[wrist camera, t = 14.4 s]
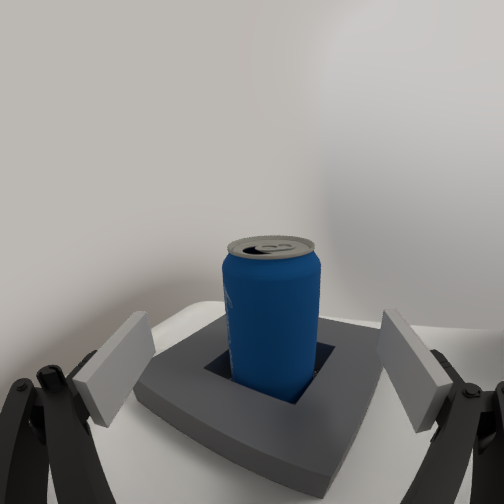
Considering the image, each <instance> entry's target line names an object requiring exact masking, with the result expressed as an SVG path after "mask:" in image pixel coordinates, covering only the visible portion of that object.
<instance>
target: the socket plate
mask: <svg viewBox="0 0 504 504" xmlns="http://www.w3.org/2000/svg"><path fill="white" fill-rule="evenodd" d="M379 335H380V329H376V328H370V327H365V326H359V325H354V324H349V323H344V322H339V321H334V320H329V319H324V318H319V317H318V330H317V343H316V355H315V365H314V369H316V370H319V373H318V374H317V376H316V377H315V378H314V380H313V381H312V383H311V384H310V385H309V387H308V388H307V390H306V391H305V392H304V394H303V395H302V397H301V398H300V399H299V401H298V402H297V403H296V405H293V404H290V403H287V402H284V401H282V400H279V399H276V398H273V397H271V396H268V395H265V394H263V393H260V392H257V391H255V390H252V389H250V388H247V387H245V386H242V385H240V384H238V383H235V382H233V381H230V380H228V379H229V378H230V377H231V376H232V374H231V364H230V354H229V344H228V333H227V322H226V314H225V315H223V316H222V317H220V318H218V319H217V320H215V321H214V322H212V323H210V324H209V325H207V326H205V327H204V328H202V329H200V330H199V331H197V332H195V333H194V334H192V335H191V336H189V337H187V338H186V339H184V340H182V341H181V342H179V343H177V344H175V345H174V346H172V347H170V348H169V349H167V350H165V351H164V352H162V353H160V354H158V355H157V356H155V357H153V358H152V359H151V360H150V362H149V363H148V365H147V366H146V368H145V369H144V371H143V373H142V374H141V376H140V377H139V379H138V380H137V382H136V384H135V385H134V387H133V391H134V393H135V396H136V399H137V400H138V401H139V402H140V403H142V404H143V405H144V406H146V407H147V408H148V409H150V410H151V411H152V412H154V413H155V414H156V415H158V416H159V417H161V418H162V419H163V420H165V421H166V422H168V423H169V424H171V425H172V426H174V427H175V428H177V429H178V430H180V431H181V432H183V433H184V434H186V435H187V436H189V437H191V438H192V439H194V440H195V441H197V442H199V443H200V444H202V445H204V446H205V447H207V448H209V449H211V450H212V451H214V452H216V453H218V454H219V455H221V456H223V457H225V458H227V459H229V460H231V461H232V462H234V463H236V464H238V465H240V466H242V467H244V468H246V469H248V470H251V471H253V472H255V473H257V474H259V475H261V476H264V477H266V478H268V479H270V480H273V481H275V482H278V483H280V484H282V485H285V486H287V487H290V488H293V489H295V490H298V491H301V492H304V493H306V494H309V495H312V496H315V497H318V498H321V499H323V498H324V496H325V494H326V493H327V491H328V489H329V488H330V486H331V484H332V482H333V481H334V479H335V477H336V475H337V473H338V472H339V470H340V468H341V466H342V464H343V462H344V460H345V458H346V456H347V454H348V452H349V450H350V448H351V446H352V444H353V442H354V440H355V437H356V435H357V433H358V431H359V429H360V426H361V424H362V422H363V419H364V417H365V415H366V412H367V410H368V407H369V405H370V402H371V400H372V397H373V394H374V392H375V389H376V386H377V383H378V381H379V378H380V375H381V372H382V369H383V364H382V362H381V360H380V358H379V356H378V354H377V352H376V350H377V345H378V340H379Z"/></svg>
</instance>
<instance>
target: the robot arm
mask: <svg viewBox="0 0 504 504" xmlns="http://www.w3.org/2000/svg"><path fill="white" fill-rule="evenodd" d="M155 352H156V350H155V346H154V342H153V337H152V333H151V328H150V324H149V319H148V314H147V312H144V311H135V312H134V313H133V314H132V315H131V316H130V317H129V318H128V319H127V320H126V321H125V322H124V323H123V325H122V326H121V327H120V328H119V329H118V330H117V331H116V332H115V333H114V334H113V335H112V336H111V337H110V338H109V339H108V340H107V341H106V342H105V344H104V345H103V346H102V347H101V348H100V349H99V350H94V351H93V352H91V353H89V354H88V355H87V356H86V357H85V358H84V359H83V360H82V362H80V363H79V364H78V366H76V367H75V368H74V369H73V371H72V372H71V373H70V374H69V375H68V376H67V377H66V378H65V377H64V375H63V372H62V370H61V368H60V367H59V366H57V365H48V366H45V367H43V368H42V369H40V370H39V371H38V372H37V375H36V377H37V379H38V381H39V383H40V385H41V387H42V388H37V387H34V385H33V383H32V381H31V380H30V379H27V378H22V379H19V380H17V381H15V382H14V383H13V385H12V386H11V388H10V391H9V393H8V395H7V398H6V401H5V403H4V406H3V408H2V411H1V413H0V504H47V487H48V473H49V462H50V468H51V474H52V479H53V484H54V488H55V493H56V497H57V501H58V504H116V502H115V499H114V497H113V495H112V492H111V490H110V487H109V485H108V482H107V480H106V477H105V474H104V472H103V469H102V466H101V463H100V460H99V457H98V454H97V451H96V448H95V444H94V441H93V438H92V434H91V430H90V427H89V424H88V422H87V421H86V420H87V419H88V418H89V416H91V418H92V420H93V422H94V424H97V425H100V426H103V427H106V428H108V427H109V426H110V424H111V422H112V421H113V419H114V417H115V416H116V414H117V413H118V411H119V409H120V408H121V406H122V404H123V403H124V401H125V400H126V398H127V396H128V395H129V393H130V392H131V390H132V388H133V387H134V385H135V384H136V382H137V380H138V379H139V377H140V376H141V374H142V373H143V371H144V369H145V368H146V366H147V365H148V363H149V362H150V360H151V358H152V357H153V355H154V354H155ZM376 352H377V354H378V356H379V358H380V360H381V362H382V364H383V366H384V368H385V370H386V371H387V373H388V375H389V377H390V379H391V382H392V384H393V386H394V388H395V390H396V392H397V394H398V396H399V398H400V400H401V402H402V404H403V406H404V409H405V411H406V413H407V415H408V417H409V419H410V422H411V424H412V426H413V428H414V430H415V433H419V432H423V431H426V430H430V429H431V428H432V426H433V424H434V422H435V420H436V422H437V424H438V428H437V430H436V432H435V433H434V435H433V437H432V439H431V440H430V442H431V444H430V447H429V449H428V451H427V453H426V456H425V458H424V460H423V462H422V464H421V466H420V468H419V470H418V472H417V474H416V476H415V478H414V480H413V482H412V484H411V486H410V487H409V489H408V491H407V493H406V495H405V496H404V498H403V500H402V501H401V503H400V504H454V502H455V499H456V497H457V494H458V492H459V489H460V486H461V484H462V481H463V478H464V475H465V472H466V469H467V466H468V462H469V459H470V456H471V452H472V448H473V473H472V487H471V497H470V504H504V381H502V382H500V383H499V384H498V385H497V387H496V389H495V391H484V392H483V391H482V390H481V388H480V387H479V386H477V385H475V384H473V383H465V382H464V381H463V379H462V378H461V377H460V375H459V374H458V373H457V372H456V370H455V369H454V368H453V367H452V365H451V364H450V363H449V362H448V360H447V359H446V358H445V356H444V355H443V354H442V353H440V352H438V351H437V350H435V349H434V350H429V349H428V348H427V347H426V345H425V344H424V343H423V342H422V340H421V339H420V338H419V336H418V335H417V334H416V333H415V331H414V330H413V329H412V328H411V327H410V325H409V324H408V323H407V322H406V320H405V319H404V318H403V317H402V316H401V314H400V313H399V312H398V311H397V310H396V309H389V310H384V312H383V318H382V324H381V329H380V335H379V340H378V345H377V350H376ZM29 421H30V422H29Z"/></svg>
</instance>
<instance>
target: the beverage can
mask: <svg viewBox="0 0 504 504" xmlns="http://www.w3.org/2000/svg"><path fill="white" fill-rule="evenodd" d="M314 247H315V244H314V243H313V242H312V241H310V240H308V239H304V238H300V237H293V236H257V237H249V238H244V239H240V240H236V241H234V242H232V243H230V244H229V245H228V247H227V248H228V252H229V254H228V255H227V257H226V258H225V260H224V262H223V265H222V272H223V286H224V297H225V298H224V299H225V311H226V322H227V333H228V344H229V354H230V364H231V374H232V381H233V382H235V383H238V384H240V385H242V386H245V387H247V388H250V389H252V390H255V391H257V392H260V393H263V394H265V395H268V396H271V397H273V398H276V399H279V400H282V401H284V402H287V403H290V404H294V403H296V402H298V401H299V399H300V398H301V397H302V395H303V394H304V392H305V391H306V390H307V388H308V387H309V385H310V384H311V383H312V381H313V375H314V365H315V355H316V343H317V330H318V316H319V298H320V274H321V263H320V260H319V258H318V257H317V255H316V254H315V252H314Z"/></svg>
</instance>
